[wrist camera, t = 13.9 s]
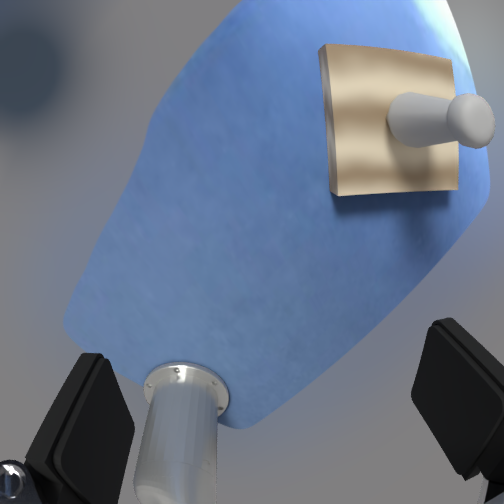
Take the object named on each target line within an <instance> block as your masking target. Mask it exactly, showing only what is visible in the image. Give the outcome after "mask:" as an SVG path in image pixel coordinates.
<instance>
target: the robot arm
mask: <svg viewBox="0 0 504 504" xmlns="http://www.w3.org/2000/svg"><path fill="white" fill-rule="evenodd" d="M143 391H144V396H145V398H146V401H147V402H148V404H149V405H150V407H149V411H148V415H147V419H146V423H145V427H144V432H143V436H142V440H141V445H140V449H139V454H138V459H137V463H136V468H135V473H134V479H133V486H134V491H135V495H136V497H137V499H138V501H139V503H140V504H216V471H217V470H216V469H217V466H216V465H217V419H218V416H220V415H221V414H222V413H223V412H224V411H225V409H226V408H227V406H228V401H229V393H228V388H227V386H226V384H225V382H224V381H223V380H222V379H221V378H220V377H219V376H218V375H217V374H216V373H214V372H213V371H211V370H209V369H208V368H205V367H203V366H200V365H197V364H193V363H186V362H172V363H166V364H163V365H160V366H158V367H157V368H155V369H153V370H152V371H151V372H150V373H149V374H148V376H147V378H146V380H145V383H144V389H143ZM411 398H412V401H413V403H414V404H415V406H416V407H417V409H418V411H419V412H420V414H421V415H422V417H423V419H424V420H425V422H426V423H427V425H428V426H429V428H430V430H431V431H432V433H433V435H434V436H435V438H436V440H437V441H438V443H439V444H440V446H441V448H442V449H443V451H444V453H445V454H446V456H447V458H448V459H449V461H450V463H451V465H452V466H453V468H454V470H455V471H456V472H457V474H459V475H462V476H463V478H464V480H465V481H466V480H468V479H470V478H472V477H474V476H476V475H478V474H479V473H480V471H481V473H482V474H483V481H482V486H481V491H480V495H479V499H478V503H477V504H504V366H503V365H502V364H501V363H500V362H499V361H497V359H496V358H495V357H494V356H493V355H491V353H489V352H488V351H487V350H486V349H485V348H484V347H483V346H482V345H481V344H480V343H479V342H478V341H477V340H476V339H475V338H473V336H471V335H470V334H469V333H468V332H467V331H466V330H465V329H464V328H463V327H462V326H461V325H459V324H458V323H457V322H456V321H455V320H454V319H453V318H445V319H440V320H436V321H434V322H433V323H432V326H431V327H429V329H428V332H427V336H426V340H425V344H424V348H423V352H422V356H421V360H420V364H419V367H418V371H417V374H416V377H415V381H414V384H413V387H412V391H411ZM134 432H135V426H134V422H133V420H132V417H131V415H130V412H129V410H128V408H127V405H126V403H125V400H124V398H123V395H122V393H121V390H120V388H119V385H118V382H117V380H116V377H115V374H114V372H113V369H112V366H111V363H110V361H109V360H108V359H105V358H104V356H103V355H102V354H100V353H83V354H81V356H80V357H79V359H78V360H77V362H76V364H75V365H74V367H73V369H72V371H71V372H70V374H69V376H68V377H67V379H66V381H65V383H64V384H63V386H62V388H61V390H60V391H59V393H58V395H57V397H56V399H55V400H54V402H53V404H52V406H51V408H50V410H49V411H48V413H47V415H46V417H45V419H44V421H43V423H42V425H41V427H40V429H39V430H38V432H37V435H36V436H35V438H34V440H33V442H32V444H31V446H30V448H29V451H28V453H27V454H26V457H25V458H26V461H25V463H24V464H22V463H21V462H19V461H16V460H4V461H1V462H0V504H118V499H119V495H120V490H121V486H122V481H123V477H124V473H125V469H126V464H127V460H128V456H129V452H130V448H131V444H132V440H133V436H134Z"/></svg>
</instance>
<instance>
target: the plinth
mask: <svg viewBox="0 0 504 504" xmlns="http://www.w3.org/2000/svg"><path fill="white" fill-rule="evenodd" d="M318 55H319V63H320V71H321V80H322V90H323V100H324V110H325V122H326V135H327V149H328V165H329V185H330V192H332V193H334V194H335V195H337V196H346V195H360V194H376V193H393V192H413V191H437V190H458V166H459V154H458V141H454V142H448V143H443V144H437V145H432V146H426V147H421V148H415V147H409V146H406V145H404V144H403V143H401V142H400V141H399V140H397V139H396V138H395V137H394V136H393V134H392V133H391V130H390V127H389V125H388V122H387V119H386V116H387V114H388V112H389V108H390V104H391V103H392V101H393V100H394V99H395V98H396V97H397V96H398V95H400V94H403V93H406V92H414V93H418V94H423V95H428V96H434V97H439V98H444V99H448V100H453V99H454V97H456V95H455V85H454V77H453V69H452V62H451V60H450V59H446V58H441V57H436V56H431V55H426V54H420V53H414V52H408V51H401V50H394V49H387V48H378V47H368V46H357V45H342V44H325V45H324V46H322V47H321V48H320V49H319V50H318Z"/></svg>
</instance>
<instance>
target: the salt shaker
mask: <svg viewBox="0 0 504 504" xmlns="http://www.w3.org/2000/svg"><path fill="white" fill-rule="evenodd" d="M386 119H387V122H388V125H389V127H390V130H391V133H392V134H393V136H394V137H395V138H396V139H397V140H399V141H400V142H401V143H403V144H404V145H406V146H409V147H415V148H421V147H426V146H432V145H437V144H443V143H448V142H454V141H458V142H459V143H460V144H461V145H463V146H467V147H471V148H475V149H477V148H482V147H484V146H486V145H488V144H489V143H490V141H491V140H492V138H493V136H494V131H495V119H494V114H493V112H492V110H491V108H490V106H489V104H488V103H487V102H486V101H485V100H484V98H483V97H480V96H478V95H475V94H470V93H467V94H462V95H459V96H456V97H454V99H453V100H448V99H444V98H439V97H434V96H428V95H423V94H418V93H414V92H406V93H403V94H400V95H398V96H397V97H396V98H395V99H394V100H393V101H392V103H391V104H390V108H389V112H388V114H387V116H386Z"/></svg>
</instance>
